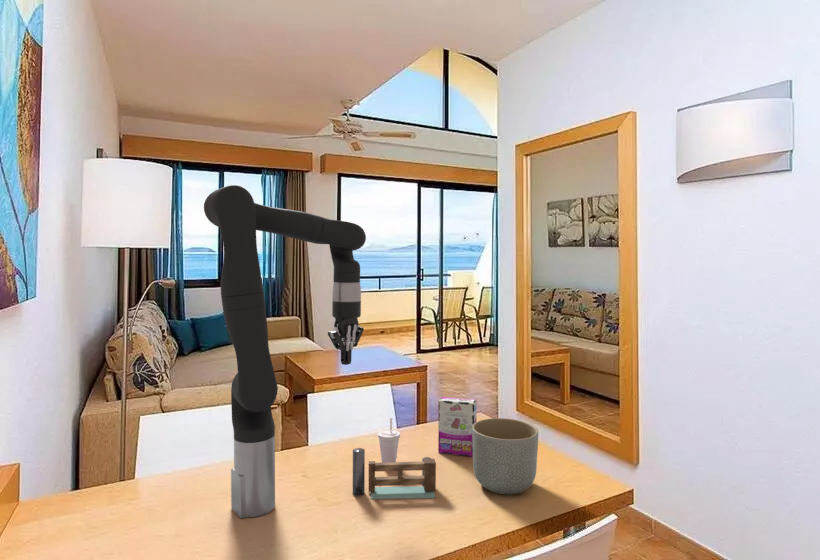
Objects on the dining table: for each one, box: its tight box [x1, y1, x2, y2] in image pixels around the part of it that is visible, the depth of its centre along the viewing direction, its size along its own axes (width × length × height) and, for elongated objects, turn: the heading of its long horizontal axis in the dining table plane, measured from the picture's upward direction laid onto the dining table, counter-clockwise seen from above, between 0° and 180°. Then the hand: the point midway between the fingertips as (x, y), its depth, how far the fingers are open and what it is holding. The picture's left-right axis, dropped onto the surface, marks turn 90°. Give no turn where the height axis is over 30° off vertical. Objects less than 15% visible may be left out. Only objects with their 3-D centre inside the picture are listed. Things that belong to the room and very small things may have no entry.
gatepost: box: [352, 447, 366, 497], centre depth 126 cm, size 3×3×11 cm
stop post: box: [421, 456, 432, 486], centre depth 131 cm, size 2×2×7 cm
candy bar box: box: [437, 396, 478, 458], centre depth 153 cm, size 11×5×16 cm, turn 73°
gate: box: [368, 458, 437, 493], centre depth 127 cm, size 17×3×7 cm, turn 95°
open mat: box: [370, 485, 436, 500], centre depth 127 cm, size 16×6×1 cm, turn 93°
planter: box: [472, 417, 539, 496], centre depth 131 cm, size 17×17×15 cm
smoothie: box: [377, 417, 401, 463], centre depth 142 cm, size 6×6×14 cm
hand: (346, 364), depth 134 cm, fingers closed
